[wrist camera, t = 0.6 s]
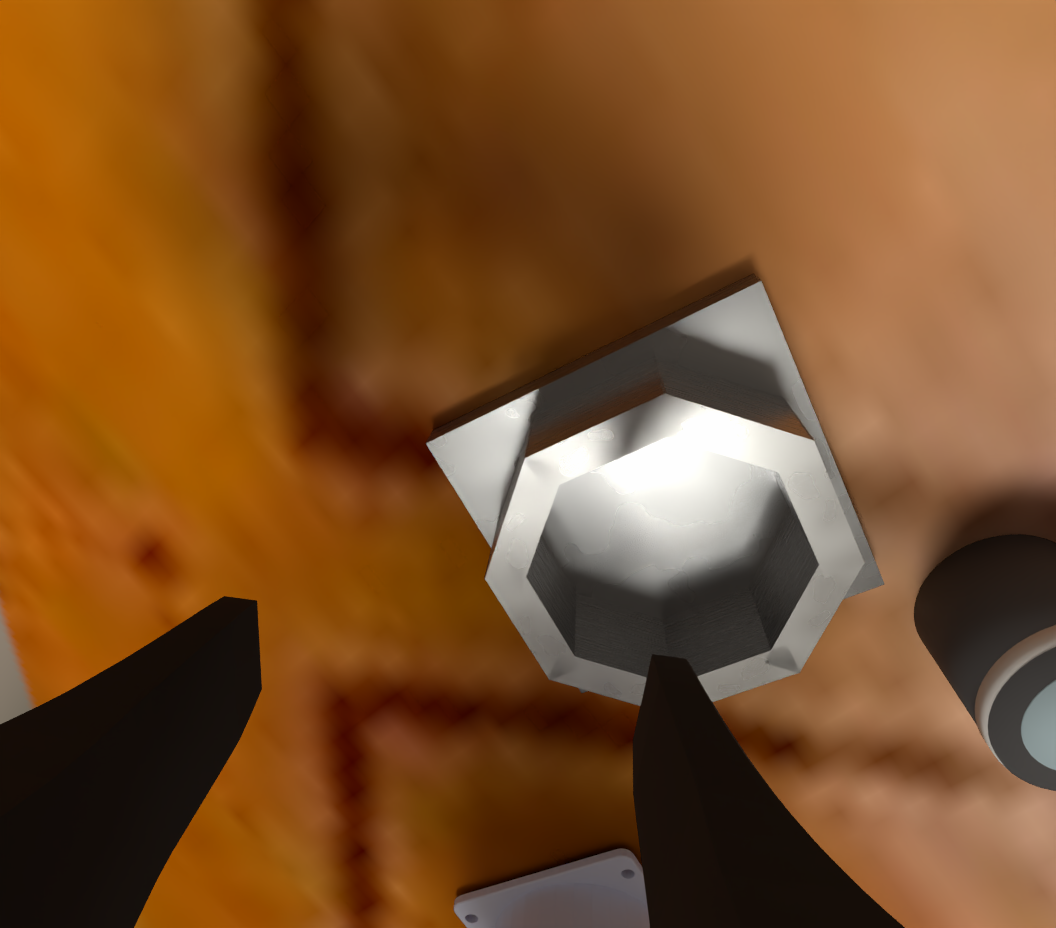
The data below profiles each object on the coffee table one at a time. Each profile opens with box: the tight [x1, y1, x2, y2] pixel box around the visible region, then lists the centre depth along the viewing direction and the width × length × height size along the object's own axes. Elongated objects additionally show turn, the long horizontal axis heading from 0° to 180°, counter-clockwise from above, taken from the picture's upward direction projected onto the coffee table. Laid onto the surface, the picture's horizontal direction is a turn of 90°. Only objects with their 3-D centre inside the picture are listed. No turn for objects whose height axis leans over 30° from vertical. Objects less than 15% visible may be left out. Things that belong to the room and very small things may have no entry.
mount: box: [426, 274, 884, 706], centre depth 21 cm, size 10×10×4 cm
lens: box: [914, 535, 1056, 791], centre depth 21 cm, size 5×5×5 cm
